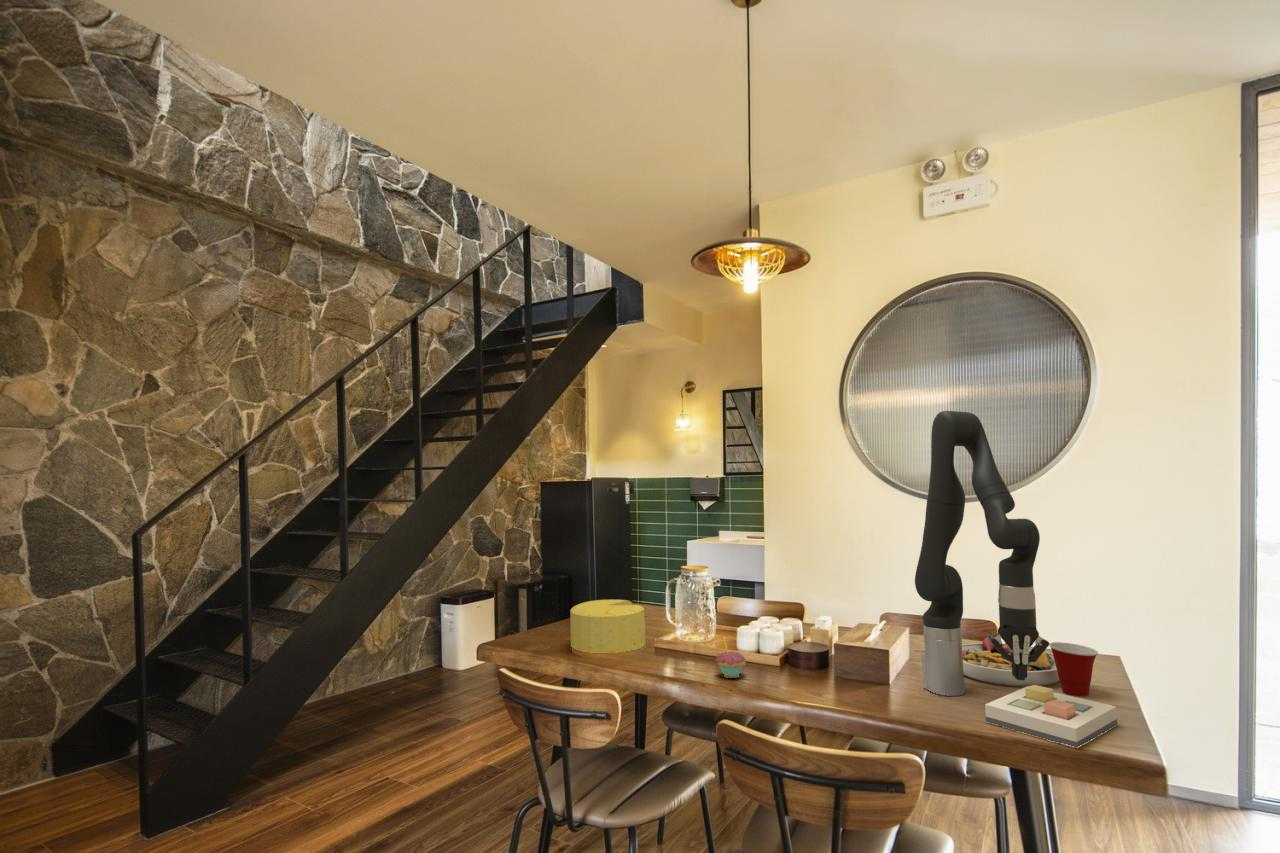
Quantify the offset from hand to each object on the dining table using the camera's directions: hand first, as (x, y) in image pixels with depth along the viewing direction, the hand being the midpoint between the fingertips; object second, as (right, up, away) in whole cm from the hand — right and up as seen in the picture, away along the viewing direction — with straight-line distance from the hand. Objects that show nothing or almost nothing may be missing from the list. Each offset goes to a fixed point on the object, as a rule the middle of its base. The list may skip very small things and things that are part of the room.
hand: (1019, 679), depth 153 cm
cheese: (-100, -19, +75) cm, 127 cm away
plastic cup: (+25, -11, +18) cm, 33 cm away
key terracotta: (+5, -5, -7) cm, 10 cm away
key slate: (+11, -8, -3) cm, 14 cm away
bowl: (+17, -13, +37) cm, 43 cm away
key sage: (+1, -8, -1) cm, 8 cm away
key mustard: (+7, -6, +4) cm, 10 cm away
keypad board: (+6, -10, -2) cm, 12 cm away
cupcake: (-62, -15, +40) cm, 75 cm away
